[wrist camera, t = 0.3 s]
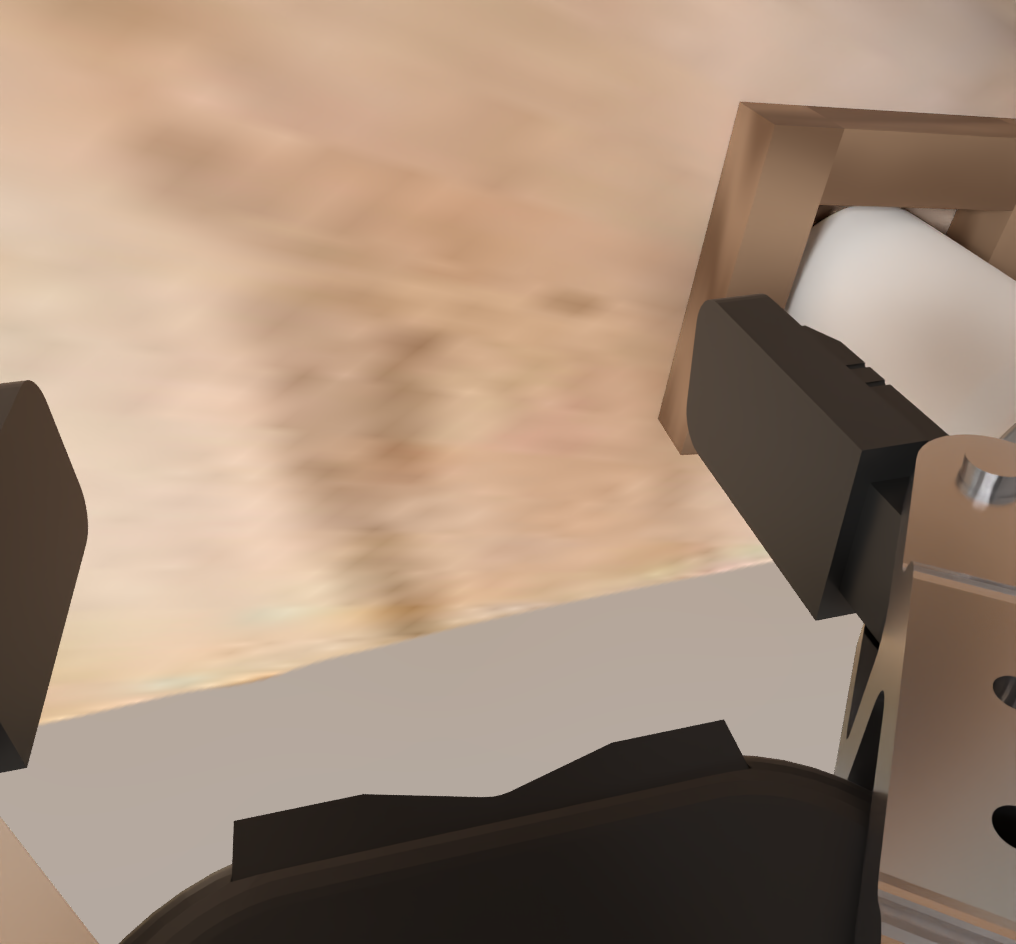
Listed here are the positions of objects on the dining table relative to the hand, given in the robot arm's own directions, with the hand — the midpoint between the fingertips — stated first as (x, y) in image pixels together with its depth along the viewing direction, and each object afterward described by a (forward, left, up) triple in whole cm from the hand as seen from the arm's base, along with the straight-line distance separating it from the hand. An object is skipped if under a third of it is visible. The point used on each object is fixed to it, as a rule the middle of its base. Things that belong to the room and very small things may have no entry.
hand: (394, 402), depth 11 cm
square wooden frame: (+7, +19, -18) cm, 27 cm away
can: (+7, +19, -18) cm, 27 cm away
